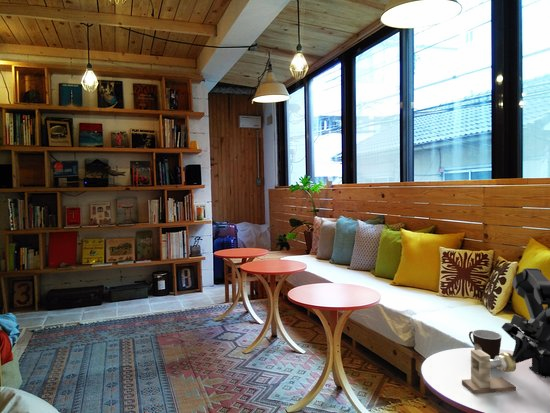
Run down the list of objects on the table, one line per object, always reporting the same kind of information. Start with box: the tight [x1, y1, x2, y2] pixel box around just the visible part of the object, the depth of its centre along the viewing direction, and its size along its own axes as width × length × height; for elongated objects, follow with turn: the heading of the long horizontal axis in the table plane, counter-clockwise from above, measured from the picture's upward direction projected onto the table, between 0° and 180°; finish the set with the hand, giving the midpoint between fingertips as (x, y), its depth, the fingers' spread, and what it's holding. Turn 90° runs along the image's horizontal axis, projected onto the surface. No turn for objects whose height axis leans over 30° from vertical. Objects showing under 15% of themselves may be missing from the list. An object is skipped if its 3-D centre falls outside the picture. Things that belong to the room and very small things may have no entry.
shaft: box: [490, 352, 517, 373], centre depth 114 cm, size 9×5×5 cm, turn 96°
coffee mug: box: [468, 329, 502, 369], centre depth 130 cm, size 12×9×10 cm
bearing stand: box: [461, 349, 517, 395], centre depth 113 cm, size 13×6×10 cm, turn 96°
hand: (512, 362), depth 114 cm, fingers closed
